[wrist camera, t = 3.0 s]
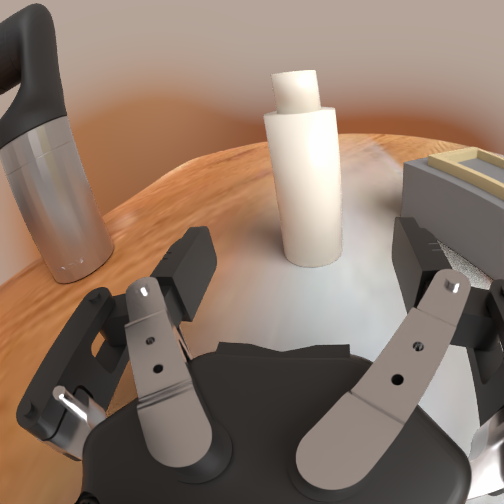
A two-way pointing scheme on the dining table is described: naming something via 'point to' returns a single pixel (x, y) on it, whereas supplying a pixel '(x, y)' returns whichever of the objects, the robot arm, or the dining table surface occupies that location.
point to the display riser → (460, 203)
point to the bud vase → (305, 170)
